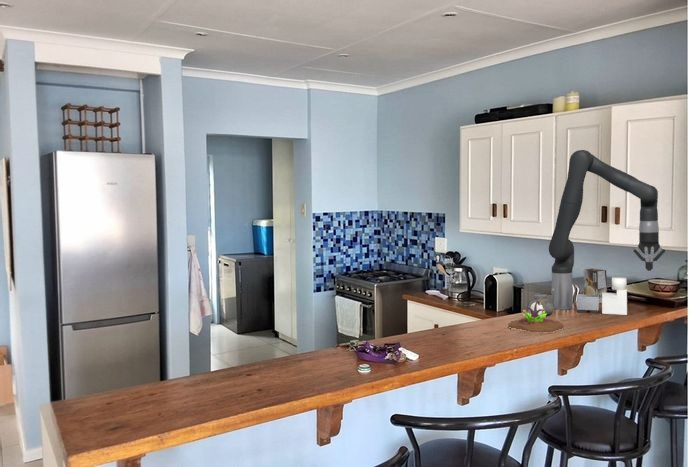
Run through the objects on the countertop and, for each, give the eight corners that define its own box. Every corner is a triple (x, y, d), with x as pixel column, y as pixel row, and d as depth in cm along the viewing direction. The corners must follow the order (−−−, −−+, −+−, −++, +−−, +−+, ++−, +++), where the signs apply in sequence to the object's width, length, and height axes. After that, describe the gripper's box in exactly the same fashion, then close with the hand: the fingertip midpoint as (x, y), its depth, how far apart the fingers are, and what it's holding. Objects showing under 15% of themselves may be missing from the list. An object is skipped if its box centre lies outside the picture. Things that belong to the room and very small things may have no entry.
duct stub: (577, 312, 262) (577, 296, 261) (577, 310, 267) (577, 294, 267) (598, 313, 258) (598, 297, 258) (598, 311, 263) (598, 294, 263)
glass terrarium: (544, 319, 250) (543, 295, 251) (527, 318, 256) (526, 295, 257) (557, 317, 258) (556, 294, 259) (541, 316, 264) (540, 294, 265)
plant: (572, 329, 233) (571, 302, 233) (539, 337, 223) (539, 308, 222) (533, 321, 250) (532, 295, 250) (501, 328, 240) (500, 301, 239)
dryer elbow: (602, 313, 256) (601, 279, 255) (602, 310, 264) (602, 276, 263) (627, 314, 252) (626, 279, 251) (626, 311, 260) (626, 276, 259)
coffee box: (607, 302, 282) (607, 270, 281) (598, 303, 280) (597, 271, 279) (592, 299, 291) (592, 268, 290) (583, 300, 288) (583, 269, 287)
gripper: (632, 231, 249) (632, 271, 250) (666, 231, 244) (667, 271, 245) (631, 230, 256) (632, 269, 257) (665, 230, 250) (665, 269, 251)
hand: (649, 270), depth 251 cm, fingers closed
